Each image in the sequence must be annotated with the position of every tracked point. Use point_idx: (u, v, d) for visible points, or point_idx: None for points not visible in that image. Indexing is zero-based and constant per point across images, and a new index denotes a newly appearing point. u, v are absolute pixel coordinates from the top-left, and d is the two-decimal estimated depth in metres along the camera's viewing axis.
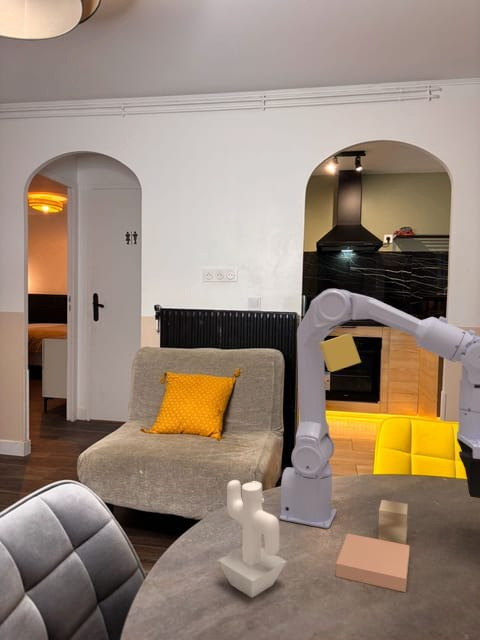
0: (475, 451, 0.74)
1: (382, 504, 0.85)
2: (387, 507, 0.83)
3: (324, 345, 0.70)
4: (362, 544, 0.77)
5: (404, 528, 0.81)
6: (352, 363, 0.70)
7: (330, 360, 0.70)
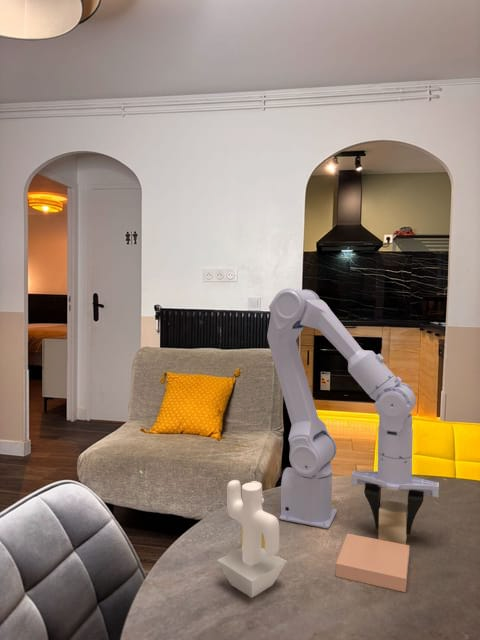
0: None
1: (382, 504, 0.85)
2: (387, 507, 0.83)
3: None
4: (362, 544, 0.77)
5: (404, 528, 0.81)
6: None
7: None
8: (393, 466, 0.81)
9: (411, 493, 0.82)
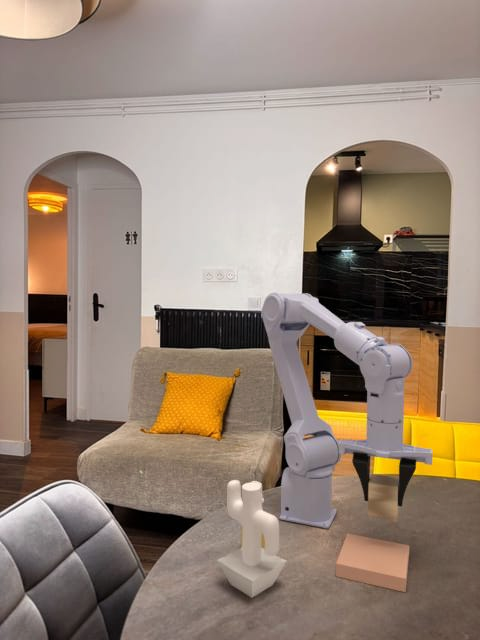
0: None
1: (372, 478, 0.79)
2: (377, 481, 0.78)
3: None
4: (362, 544, 0.77)
5: (395, 502, 0.75)
6: None
7: None
8: (383, 432, 0.75)
9: (403, 461, 0.76)
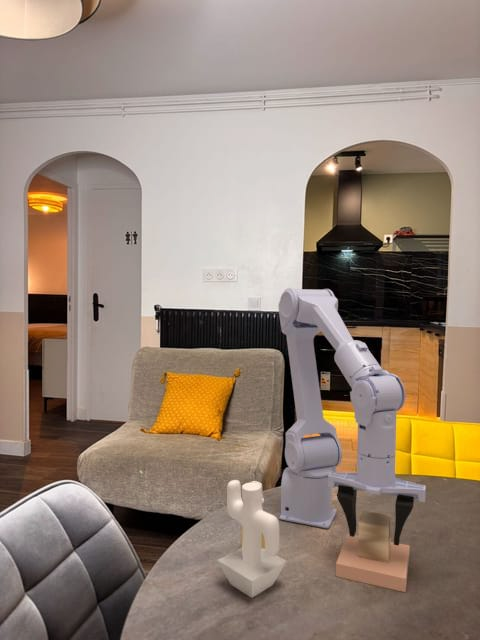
0: None
1: (362, 515, 0.76)
2: (367, 519, 0.74)
3: None
4: None
5: (386, 543, 0.72)
6: (242, 545, 0.79)
7: None
8: (374, 467, 0.71)
9: (399, 498, 0.72)
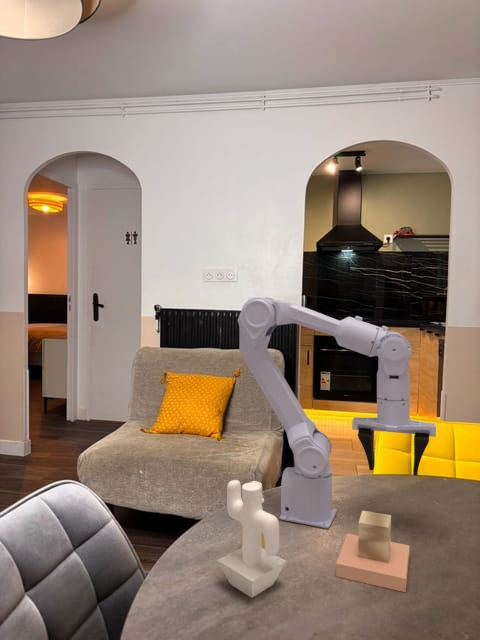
0: None
1: (362, 515, 0.76)
2: (367, 519, 0.74)
3: None
4: None
5: (386, 543, 0.72)
6: (242, 545, 0.79)
7: None
8: (392, 409, 0.84)
9: (417, 435, 0.85)
